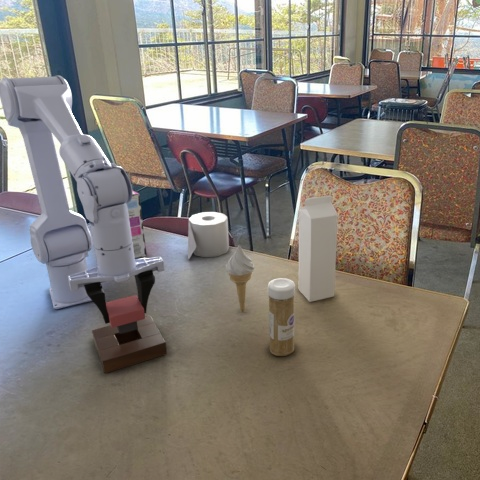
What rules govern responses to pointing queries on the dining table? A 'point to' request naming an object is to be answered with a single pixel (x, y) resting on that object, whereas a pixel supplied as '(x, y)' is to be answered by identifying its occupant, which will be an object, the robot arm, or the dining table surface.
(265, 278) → the dining table surface
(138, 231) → the candy bar box
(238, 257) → the ice cream cone
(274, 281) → the sprinkles bottle
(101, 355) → the block
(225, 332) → the dining table surface
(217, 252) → the toilet tissue
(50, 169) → the robot arm
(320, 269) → the milk
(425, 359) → the dining table surface
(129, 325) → the back pad
